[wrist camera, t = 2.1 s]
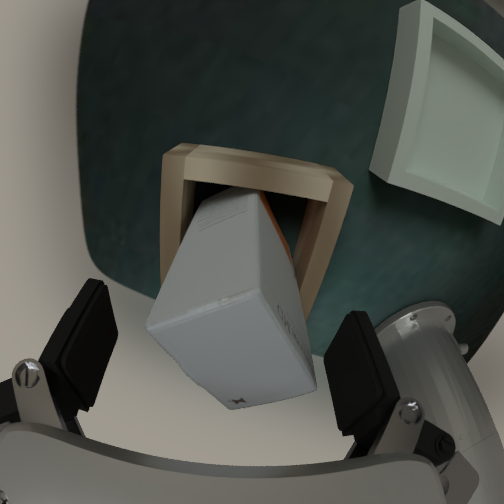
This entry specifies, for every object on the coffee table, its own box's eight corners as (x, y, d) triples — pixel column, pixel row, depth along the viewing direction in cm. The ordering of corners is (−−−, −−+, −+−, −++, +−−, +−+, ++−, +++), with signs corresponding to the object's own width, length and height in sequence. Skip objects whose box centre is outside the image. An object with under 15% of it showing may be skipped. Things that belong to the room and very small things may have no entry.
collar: (334, 168, 17) (353, 185, 14) (298, 288, 22) (305, 323, 19) (182, 143, 16) (162, 154, 13) (175, 271, 21) (162, 304, 18)
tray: (509, 85, 11) (532, 90, 9) (480, 210, 18) (500, 225, 15) (399, 8, 10) (420, -2, 8) (368, 169, 17) (387, 182, 14)
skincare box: (291, 246, 20) (321, 393, 10) (238, 266, 21) (227, 413, 11) (256, 171, 17) (261, 289, 7) (199, 198, 18) (137, 330, 8)
